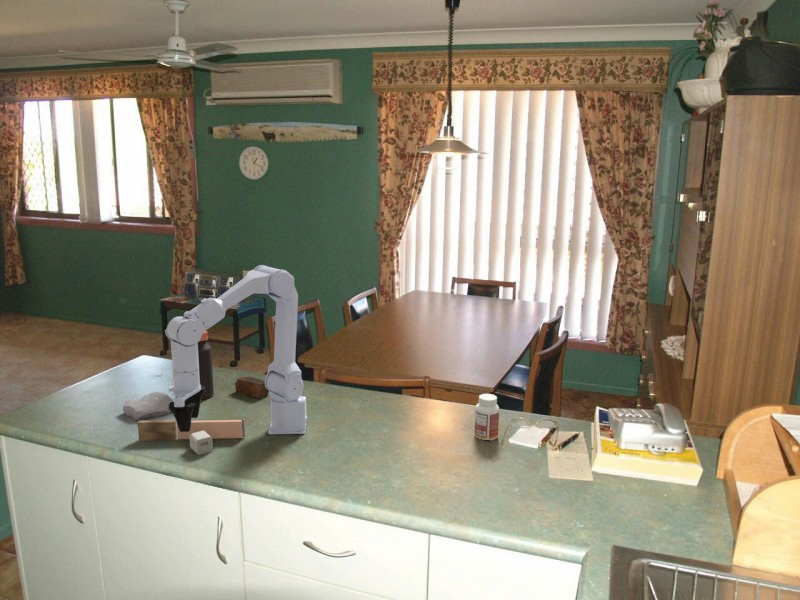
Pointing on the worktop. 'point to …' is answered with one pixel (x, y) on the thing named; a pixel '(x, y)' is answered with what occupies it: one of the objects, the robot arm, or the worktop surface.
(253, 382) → the brick
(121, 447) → the worktop surface
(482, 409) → the pill bottle
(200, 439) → the usb wall charger
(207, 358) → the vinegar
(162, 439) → the brown wooden board
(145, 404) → the stone block
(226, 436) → the light wood thin slab
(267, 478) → the worktop surface
